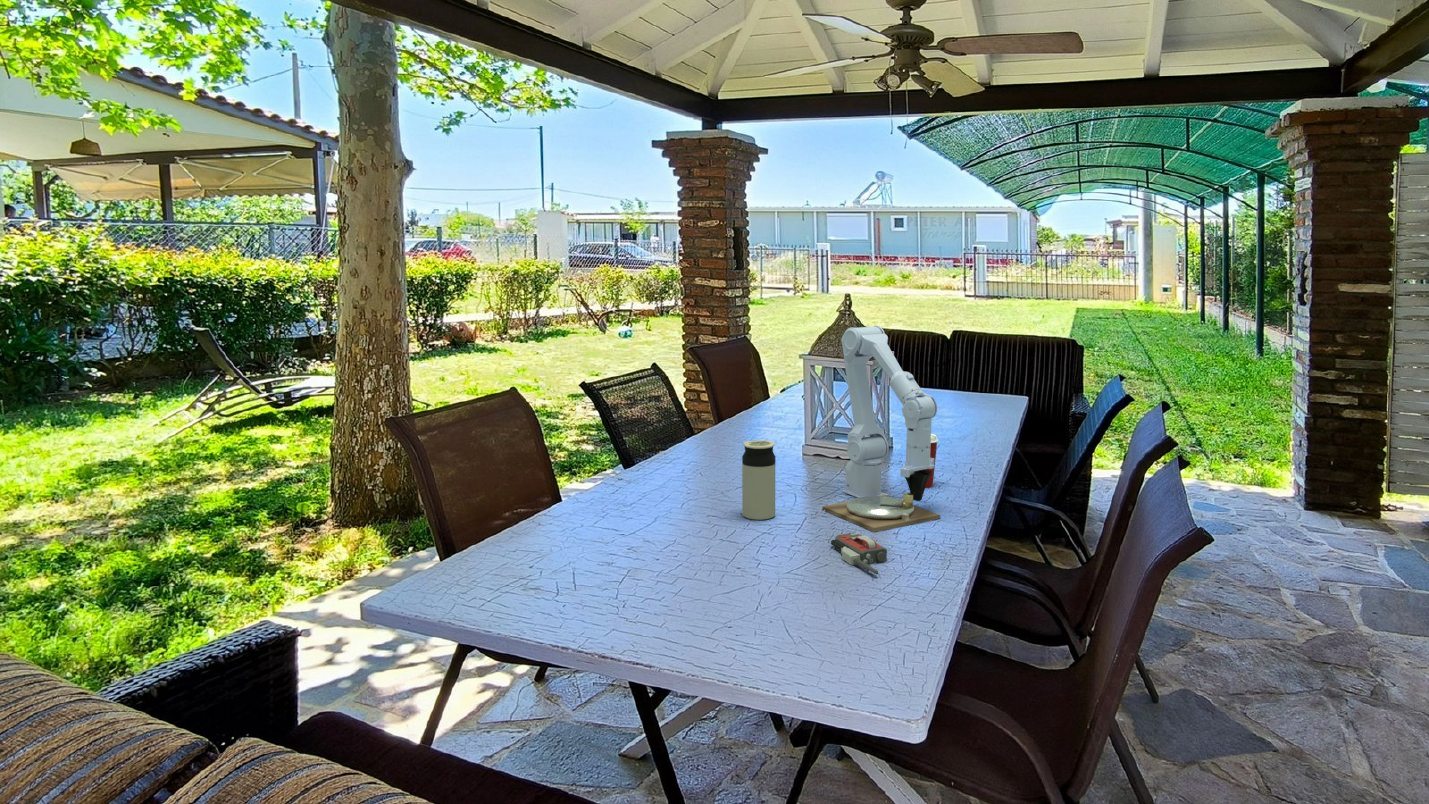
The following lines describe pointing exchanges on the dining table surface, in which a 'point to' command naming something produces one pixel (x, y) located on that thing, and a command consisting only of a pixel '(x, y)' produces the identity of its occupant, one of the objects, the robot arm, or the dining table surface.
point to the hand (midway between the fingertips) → (916, 499)
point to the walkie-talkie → (859, 550)
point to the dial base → (881, 524)
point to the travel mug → (758, 480)
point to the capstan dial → (881, 506)
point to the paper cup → (932, 455)
